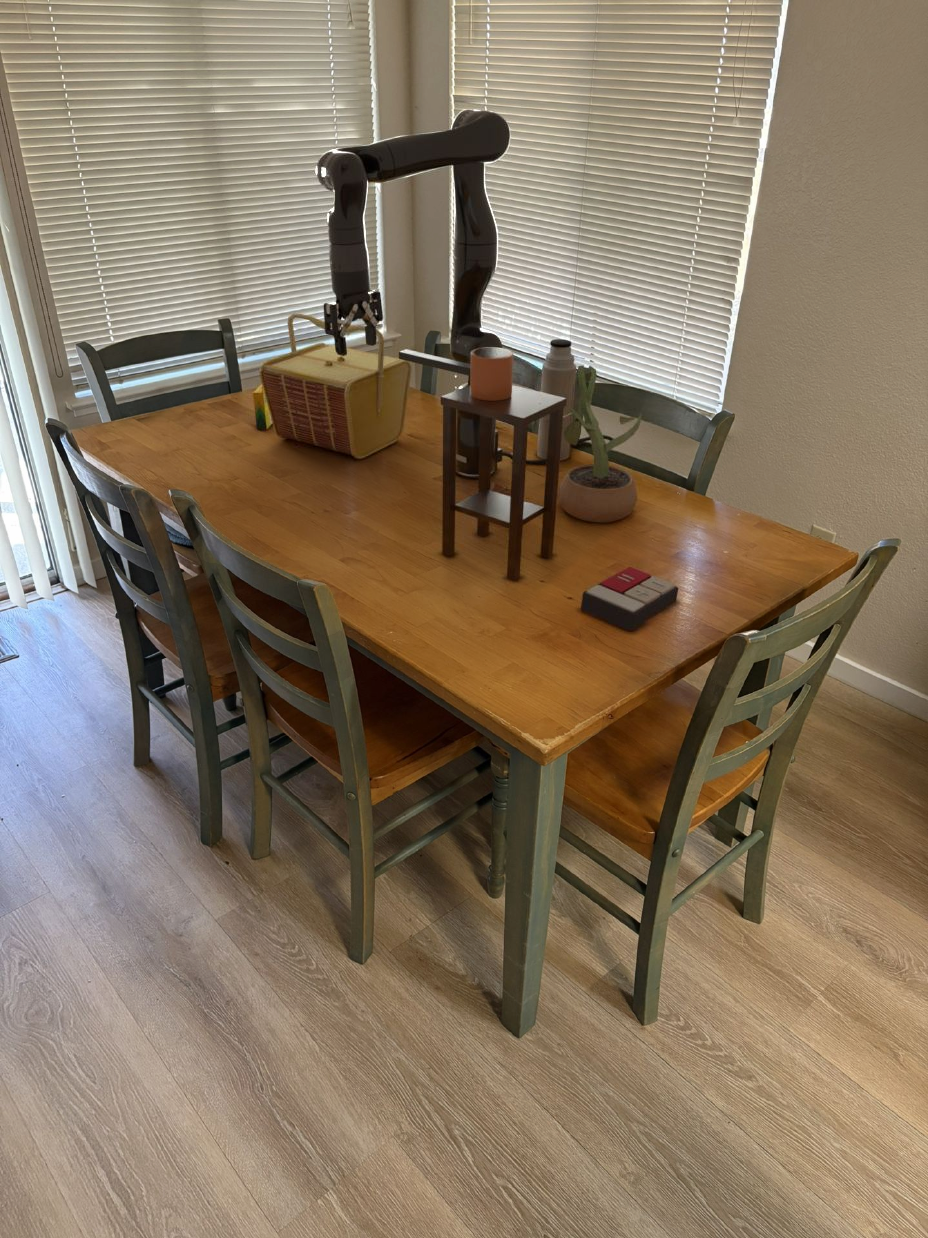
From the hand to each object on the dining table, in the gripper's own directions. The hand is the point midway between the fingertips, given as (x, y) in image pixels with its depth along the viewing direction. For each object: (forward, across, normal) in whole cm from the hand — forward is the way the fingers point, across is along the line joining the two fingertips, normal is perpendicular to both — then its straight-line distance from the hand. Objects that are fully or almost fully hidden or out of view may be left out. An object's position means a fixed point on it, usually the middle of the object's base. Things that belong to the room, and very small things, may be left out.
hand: (356, 349), depth 189 cm
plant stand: (+34, -4, -38) cm, 51 cm away
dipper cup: (+2, -3, -27) cm, 27 cm away
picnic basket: (+33, +22, +30) cm, 50 cm away
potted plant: (+35, +29, -39) cm, 60 cm away
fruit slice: (+34, +16, -26) cm, 46 cm away
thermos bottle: (+36, +48, -17) cm, 62 cm away
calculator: (+35, -4, -68) cm, 76 cm away
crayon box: (+33, +17, +53) cm, 65 cm away
